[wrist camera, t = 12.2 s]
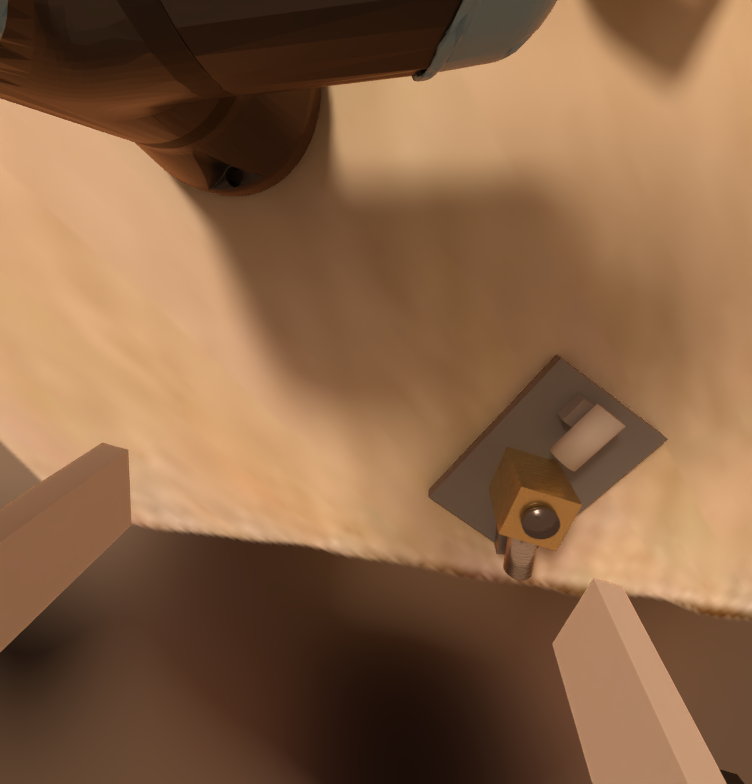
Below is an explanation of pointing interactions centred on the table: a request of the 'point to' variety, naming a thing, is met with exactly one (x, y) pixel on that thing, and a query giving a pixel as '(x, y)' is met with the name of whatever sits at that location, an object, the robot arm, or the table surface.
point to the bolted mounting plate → (550, 443)
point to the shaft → (516, 556)
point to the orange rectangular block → (532, 499)
